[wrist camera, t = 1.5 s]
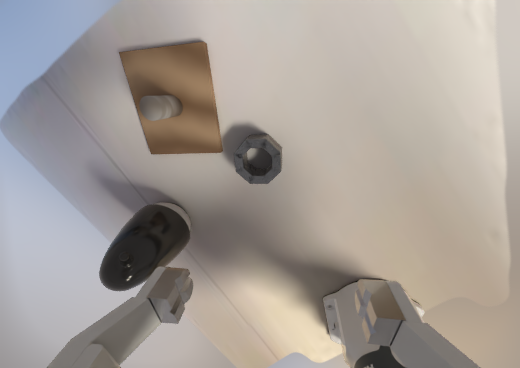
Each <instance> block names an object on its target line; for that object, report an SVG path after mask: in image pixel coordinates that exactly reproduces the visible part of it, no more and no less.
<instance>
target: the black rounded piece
mask: <svg viewBox="0 0 520 368" xmlns="http://www.w3.org/2000/svg"><path fill="white" fill-rule="evenodd" d="M190 233H191V222H190V219H189V217H188V215H187V213H186V212H185V211H184V210H183V209H182V208H180V207H179V206H177V205H175V204H172V203H165V202H162V203H156V204H153V205H147V206H145V207H143V208H142V209H140V210H139V211H138V212H137V213H136V214H135V215H134V216H133V217H132V218H131V219H130V220H129V221H128V222H127V223H126V225H125V226H124V227H123V228H122V229H121V231H120V232H119V234H118V235H117V236H116V238H115V239H114V241H113V242H112V244H111V245H110V247H109V248H108V250H107V252H106V254H105V256H104V258H103V261H102V264H101V267H100V272H99V276H100V280H101V282H102V283H103V285H104V286H105V287H106V288H108V289H110V290H113V291H125V290H129V289H131V288H134V287H136V286H138V285H140V284H142V283H143V282H145V281H147V280H148V279H149V277H150V276H151V275H152V273H153V272H154V271H155V269H156V268H158V267H165V266H167V265H168V264H169V263H170V262H171V261H172V260H173V259H174V258H175V257H176V256H177V255H178V254H179V253H180V252H181V251H182V250H183V249H184V248H185V247H186V245H187V244H188V242H189V240H190Z"/></svg>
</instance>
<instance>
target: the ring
mask: <svg viewBox="0 0 520 368" xmlns="http://www.w3.org/2000/svg"><path fill="white" fill-rule="evenodd" d="M250 148H263V149H264V150H266V151H267V152H268V153H269V154H270V155H271V156H272V164H271V165H270V166H269V167H268V168H267V169H256V168H254V167H253V166H252V165H251V164H250V163H249V162H248V158H247V151H248V150H249V149H250ZM234 160H235V167H236V172H237V173H238V174H239V175H241V176H242V177H243V178H244V179H245V180H246V181H248V182H249V183H250V184H268V183H269V182H270V181H271V180H273V179H274V178H275V177H276V176H277V175H278V174H279V173H280V172H281V168H282V147H281V146H280V145H279V144H278V143H277V142H276V141H275V140H274V139H273V138H272V137H271V136H269V135H268V134H266V135H250V136H249V137H248V138H247V139H246V140H245V141H244V142H243V143H242V144H241V146H240V147H239V148H238V149H237V150H236V152H235V153H234Z"/></svg>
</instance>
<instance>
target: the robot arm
mask: <svg viewBox="0 0 520 368" xmlns="http://www.w3.org/2000/svg"><path fill="white" fill-rule="evenodd" d="M189 274H190V272H189V270H188V269H183V268H171V267H158V268H156V269H155V271H154V272H153V273H152V275H151V276H150V277H149V279H148V280H147V282H146V283H145V284H144V286H143V287H142V288H141V290H140V291H139V293H138V294H137V296H136V297H132V298H130V299H129V300H127V301H126V302H124V303H123V304H122V305H120V306H119V307H117V308H116V309H114V310H113V311H111V312H110V313H109V314H107V315H106V316H104V317H103V318H101V319H100V320H98V321H97V322H96V323H94V324H93V325H91V326H90V327H88V328H87V329H85V330H84V331H82V332H81V333H79V334H78V335H77V336H75V337H74V338H72V339H71V340H70V341H69V342H68V343H67V345H66V346H65V347H64V348H63V349H62V350H61V352H60V353H59V354H58V355H57V356H56V357H55V359H54V360H53V361H52V362H51V363H50V364H49V366H48V367H47V368H121V367H120V366H119V365H120V364H121V363H122V362H123V361H124V360H125V359H126V358H127V357H128V356H129V355H130V354H131V353H132V352H133V351H134V350H135V349H136V348H137V347H138V346H139V345H140V344H141V343H142V342H143V341H144V340H145V339H146V338H147V337H148V336H149V335H150V334H151V333H152V332H153V331H154V330H155V329H156V328H157V327H158V326H159V325H160V324H161V323H162V322H163V323H176V324H178V323H179V320H180V318H181V316H182V314H183V312H184V310H185V307H184V304H185V303H186V302H187V301H188V300H189V299H190V296H191V294H192V290H193V281H192V279H191V278H190V277H188V276H189ZM323 303H324V308H325V313H326V318H327V323H328V328H329V333H330V338H331V340H332V341H334V342H336V343H338V344H341V345H342V350H343V355H344V359H345V362H346V364H347V365H349V366H350V367H351V368H480V367H479V366H478V365H477V364H475V363H474V362H473V361H472V360H471V359H469V358H468V357H467V356H466V355H465V354H463V353H462V352H461V351H460V350H459V349H457V348H456V347H455V346H454V345H453V344H451V343H450V342H449V341H448V340H447V339H445V338H444V337H443V336H442V335H441V334H439V333H438V332H437V331H436V330H435V329H433V328H432V327H431V326H430V325H429V324H427V323H424V322H423V320H422V318H421V317H422V316H423V314H424V310H423V308H422V306H421V305H419V304H418V303H416V302H414V301H412V300H411V298H410V297H409V295H408V294H407V293H406V292H405V291H404V290H403V288H402V287H401V285H400V284H399V283H398V282H397V281H383V280H367V279H360V280H358V282H355V283H352V284H349V285H347V286H345V287H344V288H342V289H341V290H339V291H338V292H336V293H334V294H330V295H327V296H325V297H324V298H323Z"/></svg>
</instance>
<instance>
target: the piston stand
mask: <svg viewBox="0 0 520 368" xmlns="http://www.w3.org/2000/svg"><path fill="white" fill-rule="evenodd" d="M119 54H120V57H121V60H122V64H123V67H124V70H125V73H126V76H127V79H128V83H129V86H130V89H131V92H132V95H133V98H134V102H135V105H136V108H137V111H138V114H139V117H140V120H141V124H142V127H143V130H144V133H145V136H146V139H147V143H148V146H149V149H150V152H151V154H184V153H221V152H222V151H223V149H222V142H221V136H220V129H219V122H218V116H217V109H216V103H215V96H214V89H213V83H212V76H211V70H210V63H209V56H208V50H207V44H206V43H205V42H197V43H189V44H181V45H173V46H165V47H158V48H150V49H142V50H134V51H126V52H119Z"/></svg>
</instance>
